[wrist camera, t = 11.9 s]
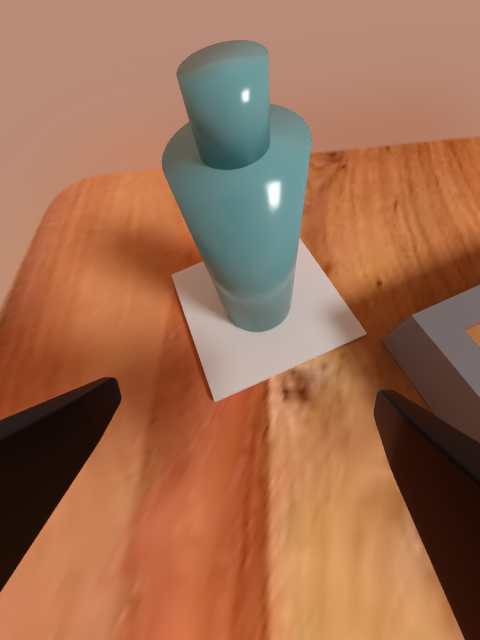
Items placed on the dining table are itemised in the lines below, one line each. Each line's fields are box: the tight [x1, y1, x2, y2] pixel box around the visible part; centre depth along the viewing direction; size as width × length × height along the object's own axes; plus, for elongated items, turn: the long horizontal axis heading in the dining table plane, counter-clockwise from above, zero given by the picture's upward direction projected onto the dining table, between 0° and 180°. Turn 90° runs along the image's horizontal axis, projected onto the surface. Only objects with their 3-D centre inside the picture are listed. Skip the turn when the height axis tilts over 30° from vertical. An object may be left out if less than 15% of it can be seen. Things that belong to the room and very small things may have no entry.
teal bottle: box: [162, 40, 312, 332], centre depth 12 cm, size 5×5×13 cm
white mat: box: [171, 238, 367, 402], centre depth 18 cm, size 11×11×1 cm
